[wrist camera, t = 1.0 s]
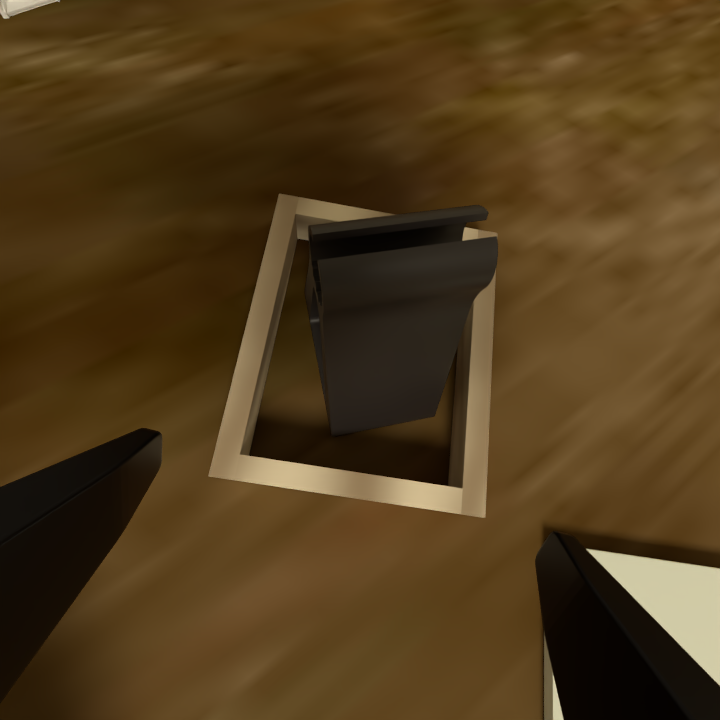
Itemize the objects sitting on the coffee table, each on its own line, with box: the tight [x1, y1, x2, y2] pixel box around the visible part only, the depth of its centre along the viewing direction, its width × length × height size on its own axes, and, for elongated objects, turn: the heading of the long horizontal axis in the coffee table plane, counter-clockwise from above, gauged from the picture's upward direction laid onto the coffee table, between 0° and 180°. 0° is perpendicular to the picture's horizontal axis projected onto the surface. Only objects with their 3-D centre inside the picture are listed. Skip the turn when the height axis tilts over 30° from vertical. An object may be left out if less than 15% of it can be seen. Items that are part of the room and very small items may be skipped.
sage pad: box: [544, 548, 720, 720], centre depth 20 cm, size 14×14×1 cm
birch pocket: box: [209, 194, 497, 518], centre depth 23 cm, size 13×16×2 cm
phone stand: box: [305, 205, 498, 437], centre depth 19 cm, size 9×6×12 cm, turn 11°
